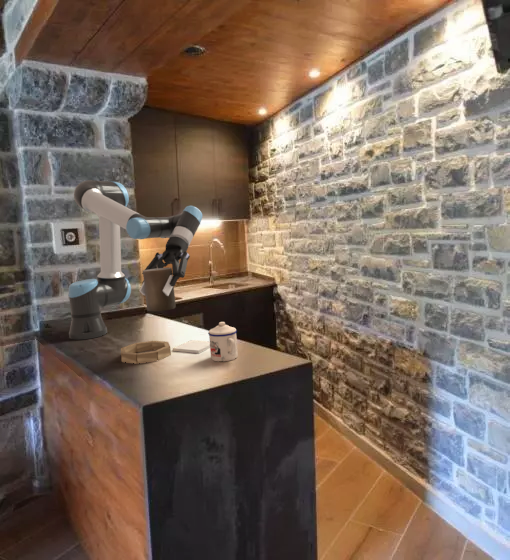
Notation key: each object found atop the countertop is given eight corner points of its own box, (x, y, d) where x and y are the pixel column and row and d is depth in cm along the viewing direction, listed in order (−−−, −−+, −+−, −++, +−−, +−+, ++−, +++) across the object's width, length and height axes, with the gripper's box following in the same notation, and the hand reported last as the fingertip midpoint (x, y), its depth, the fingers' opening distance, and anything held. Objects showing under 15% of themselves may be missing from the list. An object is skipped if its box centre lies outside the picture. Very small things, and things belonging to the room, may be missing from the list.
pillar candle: (177, 309, 144) (173, 264, 142) (148, 313, 141) (143, 267, 139) (173, 305, 153) (169, 263, 152) (145, 308, 150) (140, 265, 148)
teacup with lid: (205, 357, 141) (202, 322, 140) (230, 351, 146) (227, 318, 144) (222, 366, 131) (219, 328, 129) (248, 360, 136) (245, 323, 134)
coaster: (172, 350, 151) (172, 348, 151) (191, 342, 161) (191, 340, 161) (198, 353, 146) (198, 350, 146) (216, 344, 156) (216, 341, 156)
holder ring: (111, 360, 144) (110, 352, 144) (144, 347, 158) (143, 339, 158) (148, 365, 137) (147, 356, 136) (179, 351, 151) (178, 342, 150)
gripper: (209, 247, 153) (185, 300, 141) (161, 250, 163) (135, 299, 152) (199, 233, 147) (173, 286, 136) (149, 236, 158) (122, 286, 147)
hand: (153, 293), depth 144 cm, fingers closed on pillar candle, 9 cm apart
